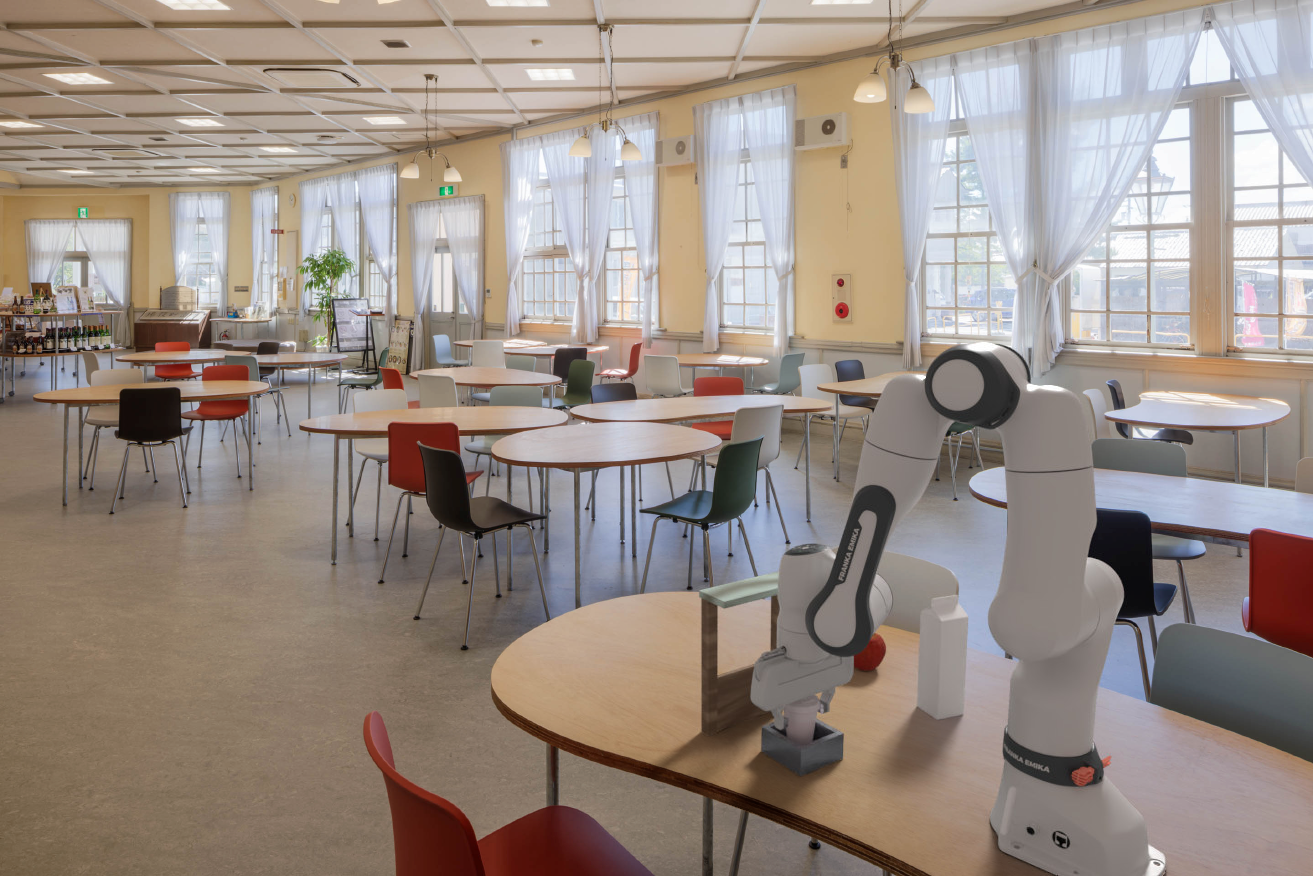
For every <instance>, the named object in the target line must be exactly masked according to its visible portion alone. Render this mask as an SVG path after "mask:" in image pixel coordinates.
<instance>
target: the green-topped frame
mask: <svg viewBox="0 0 1313 876" xmlns="http://www.w3.org/2000/svg"><path fill="white" fill-rule="evenodd" d="M778 576H779V570H778V571H774V572H771V573H766V574H762V575H758V576H753V577H750V578H745V579H742V580H741V579H740V580H737V581H732V582H728V583H725V584H724V583H723V584H721V585H716V586H712V587H708V588H703V589H700V590H698V597H699V598H700V599H701V600H700V601H701V603H700V607H701V609H700V610H701V617H700V619H701V623H700V625H701V628H700V630H701V632H700V633H701V637H700V638H701V641H700V643H701V645H700V646H701V648H700V649H701V653H700V654H701V657H700V658H701V659H700V660H701V663H700V664H701V668H700V670H701V674H700V675H701V677H700V679H701V683H700V684H701V687H700V688H701V689H700V690H701V698H700V701H701V711H700V712H701V733H703V734H704V735H705V736H707V737H710V736H713V735H715V734H716V735H717V733H718V731H721V730H724V729H727V728H730V727H732V726H736V725H738V724H741V723H743V722H746V721H749V720H752V719H754V718H757V717H759V716H763V715H766V714H769V713H771V711H764V710H762V709H760V708H759V707H757V706H755V705H754V704H753V702H752V701H751V685H752V677H753V672H754V665H755V663H753V664H749V665H746V666H743V667H739V668H737V669H734V670H733V669H732V670H730V671H726V672H724V673H720V674H718V671H719V670H718V667H719V666H718V652H719V651H718V646H719V645H718V639H719V638H718V637H719V636H718V634H719V631H718V623H719V621H718V619H719V617H718V616H719V615H718V613H719V612H718V611H719V610H718V607H720V608H721V609H724V610H725V609H729V608H733V607H737V606H741V605H744V604H748V603H752V602H755V601H760V600H763V599H767V598H770V644H769V645H770V651H772V650H774V649H777V619H778V615H779V612H780V606H779V602H778V596H777V594H778Z"/></svg>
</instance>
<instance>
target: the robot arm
mask: <svg viewBox="0 0 1313 876" xmlns="http://www.w3.org/2000/svg"><path fill="white" fill-rule="evenodd" d="M1030 369H1031V368H1030V367H1029V364H1028V363H1027V361H1026V359H1025V358H1024V357H1023V356H1022V355H1021V354H1020V353H1019V352H1018V351H1016V350H1015V349H1014V348H1011V347H1010V346H1007V345H1004V344H1000V343H993V342H992V343H991V342H986V341H975V342H967V343H965V344H963V343H962V344H958V345H954V346H951V347H949V348H947V349H946V350H943V351H941V353H939V354H938V356H936V357H935V358H934V360H933V361H932V362H931V363H930V365H929V366H928V369H927V371H926V374H925V375H923V374H917V373H905V374H901V375H897V376H894V377H893V378H892V379H890V380H888V382H887V383H886V385H885V386H884V387H883V390H882V392H881V394H880V396H879V399H878V401H877V403H876V405H875V407H874V411H873V413H872V415H871V418H870V421H869V424H868V427H867V430H866V433H865V437H864V440H863V444H862V447H861V452H860V456H859V457H860V458H859V461H858V462H859V463H858V467H857V473H856V478H855V484H854V488H853V492H852V499H851V503H850V509H849V513H848V516H847V520H846V523H845V526H844V530H843V532H842V536H841V538H840V541H839V545H838V548H837V551H836V554H835V552H834V551H833V550H832V549H831V548H830V547H829V546H827V545H826V544H822V543H804V544H803V543H802V544H800V545H796V546H793V547H791V548H790V549H788V550H787V551H786V552H784V554H783V555H782V556H781V559H780V564H779V570H778V571H779V576H778V594H777V596H778V602H779V606H780V612H779V615H778V619H777V649H774V650H772V651H769V650H768V651H764V652H763V653H761V655H760V656H759V657H758V659H757V660H756V661H755V662H754V664H755V665H754V672H753V677H752V685H751V701H752V702H753V704H754V705H755V706H757V707H759V708H760V709H762V710H764V711H771V712H770V713H771V714H772V717H774V721H773V722H774V725H775V727H776V728H778V729H779V730H781V729H784V728H787V727H788V724H787V723H788V718H787V717H785V716H784V714H783V713H782V712H784V705H787V704H789V703H792V702H795V701H798V700H801V699H804V698H806V697H809V696H812V695H818V694H820V693H821V695H820V697H819V700H820V707H819V708H818V710H817V713H820V714H821V715H824V714H827V713H829V712H830V709H831V707H830V704H831V702H832V700H833V698H834V695H835V694H836V688H837V687H840V686H842V685H845V684H849V683H850V681H851V680H852V678H853V676H854V668H855V667H854V655H857V654H859V653H860V652H862V651H863V650H864V649H865V648H866V646H867V645H868V643H869V641H870V639H871V638H872V636H873V634H874V633H876V632H877V631H878V629H879V628H880V627H881V626H882V624H883V623H884V622H885V620H886V619H887V617H888V616H889V615H890V613H891V611H892V609H893V604H894V597H893V592H892V589H891V586H890V585H889V583H888V582H887V580H886V579H885V578H884V577H883V576H882V575H881V574H879V573H878V572H879V567H880V565H881V562H882V558H883V556H884V553H885V550H886V547H887V544H888V542H889V541H890V539H891V537H892V535H893V533H894V532H895V530H896V529H897V527H898V526H899V525H900V523H901V522H902V521H903V520H904V518H905V517H906V516H907V515H908V514H909V513H910V511H911V510H912V509H913V508H914V507H915V506H916V505H917V504H918V503H919V501H920V500H921V499H922V497H923V495H924V493H925V492H926V490H927V488H928V486H929V484H930V482H931V479H932V477H933V475H934V472H935V470H936V467H937V463H938V460H939V457H940V454H941V450H942V447H943V444H944V443H943V442H944V441H945V440H944V439H945V437H946V435H947V432H948V430H949V429H950V427H951V426H952V424H953V423H955V422H956V423H960V424H963V425H969V426H973V427H975V428H976V427H977V428H980V429H985V430H990V431H991V430H996V431H997V432H998V433H999V436H1000V439H1001V441H1002V447H1003V459H1004V461H1003V462H1004V474H1005V491H1006V505H1007V531H1006V541H1005V548H1004V554H1003V558H1002V559H1003V561H1002V565H1001V572H1000V577H999V584H998V587H997V590H996V593H995V595H994V597H993V600H992V601H991V603H990V606H989V609H988V613H987V624H988V625H987V626H988V629H989V632H990V634H991V636H992V638H993V640H994V641H995V643H996V644H997V645H998V646H999V648H1000V649H1001V650H1002V651H1004V652H1005V653H1006V654H1007V655H1009V656H1011V657H1013V658H1014V659H1018V661H1017V663H1016V665H1015V668H1014V669H1013V670H1012V674H1011V677H1010V681H1009V696H1008V698H1009V699H1008V713H1007V716H1008V717H1007V725H1006V726H1005V727H1004V731H1003V741H1002V757H1003V760H1004V761H1003V762H1004V763H1003V770H1002V773H1001V774H1002V776H1001V780H1000V784H999V789H998V792H997V796H996V799H995V802H994V804H993V807H992V809H991V811H990V813H989V821H990V825H991V827H992V829H993V830H994V831H995V833H996V835H997V837H998V838H997V845H998V848H999V850H1001V852H1004V853H1006V854H1008V855H1010V856H1012V857H1014V858H1017V859H1019V860H1021V861H1023V862H1026V863H1028V864H1030V865H1033V866H1035V867H1037V868H1039V869H1041V870H1043V871H1045V872H1049V873H1050V874H1053V875H1055V876H1057V875H1058V876H1162V875H1163V873H1164V872H1165V868H1166V869H1167V859H1166V856H1165V854H1164V853H1163V852H1162V851H1159V850H1158V849H1157V848H1155V847H1154V846H1152V845H1151V844H1149V836H1148V835H1149V834H1148V829H1147V825H1146V821H1145V819H1144V817H1143V815H1142V814H1141V813H1140V812H1139V811H1138V810H1137V809H1136V808H1135V806H1133V805H1132V804H1131V802H1130V801H1129V800H1128V799H1127V798H1126V797H1125V796H1124V794H1122V792H1121V791H1120V790H1119V789H1118V788H1117V787H1116V786H1115V785H1114V783H1112V781H1111V780H1110V779H1109V778H1108V777H1107V776H1106V775H1105V770H1104V769H1105V768H1107V767H1108V766H1110V765H1111V763H1112V761H1111V759H1112V756H1111V755H1109V756H1106V757H1105V758H1103V759H1101V757H1100V754H1099V752H1098V748H1097V746H1096V744H1095V742H1094V734H1095V722H1096V721H1095V720H1096V709H1097V697H1098V691H1099V687H1100V682H1101V679H1102V674H1103V671H1104V668H1105V664H1106V661H1107V657H1108V654H1109V649H1110V646H1111V641H1112V638H1113V637H1112V636H1113V633H1114V632H1113V630H1114V627H1115V624H1116V620H1117V617H1118V614H1119V612H1120V610H1121V608H1122V605H1123V603H1124V598H1125V591H1124V590H1125V589H1124V586H1123V583H1122V580H1121V578H1120V577H1119V574H1117V572H1116V571H1115V570H1114V569H1113V568H1112V567H1111V566H1110V565H1109V564H1107V563H1106V562H1104V561H1102V560H1100V559H1096V558H1093V557H1088V556H1089V550H1090V545H1091V541H1092V538H1093V534H1094V532H1095V530H1096V528H1097V523H1098V518H1097V517H1098V515H1097V503H1096V500H1097V499H1096V487H1095V486H1096V485H1095V473H1094V472H1095V471H1094V460H1093V459H1094V458H1093V457H1094V456H1093V449H1092V442H1091V437H1090V431H1089V427H1088V423H1087V418H1086V414H1085V412H1084V408H1083V407H1084V406H1083V404H1082V402H1081V400H1080V398H1079V397H1078V395H1076V394H1075V393H1074V391H1071V390H1070V389H1067V388H1066V387H1065V388H1064V387H1062V386H1059V385H1049V384H1048V385H1046V384H1045V385H1037V384H1032V382H1031V381H1032V376H1031V375H1032V374H1031V370H1030ZM1155 864H1158V865H1160V866H1157V865H1155ZM1165 873H1166V872H1165Z"/></svg>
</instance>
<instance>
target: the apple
mask: <svg viewBox="0 0 1313 876" xmlns="http://www.w3.org/2000/svg"><path fill="white" fill-rule="evenodd" d="M886 653H887V645H886V643H885V640H884V638H883V637H882V635H880V634H878V633H876V632H875V633H874V634H873V636H872V638H871V639H870V641H869V643H868V645H867V646H866V648H865V649H864V650H863V651H862V652H860V653H859V654H857V655H854V668H855V669H857V670H859V671H861V672H862V671H863V672H870V671H873V670H875V669H876V668H878V667H879V666H880V665H881V663H882V662H883V660H884V658H885V656H886Z"/></svg>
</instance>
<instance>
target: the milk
mask: <svg viewBox="0 0 1313 876" xmlns="http://www.w3.org/2000/svg"><path fill="white" fill-rule="evenodd" d="M919 618H920V619H919V643H918V644H919V647H918V666H917V667H918V668H917V669H918V670H917V671H918V672H917V694H916V695H917V697H916V707H918V709H920V710H922V711H923V712H925V713H926V714H928V715H929V716H931V717H932V718H934V719H935V720H936V721H939V720H944V719H949V718H954V717H957V716H958V717H959V716H962V715H964V714H965V713H964V710H965V693H966V691H965V690H966V673H967V657H968V656H967V654H968V634H969V631H968V629H969V615H968V614H967V613H966V611H965V610H964V609H963V607H962V606H961V604H960V603H959V595H958V594H953V595H948V596H940V597H934V598H931V601H930V606H928V607H926V608H923V609H921V610H920V617H919Z"/></svg>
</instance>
